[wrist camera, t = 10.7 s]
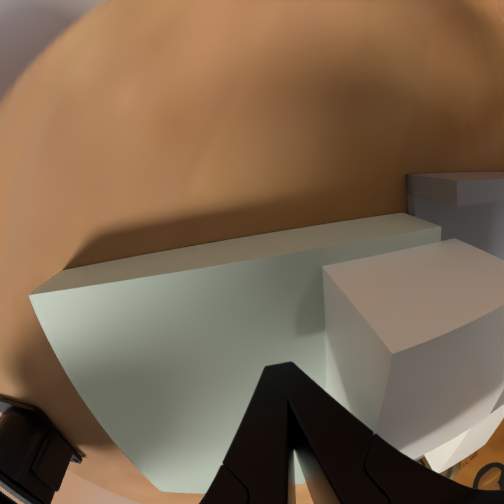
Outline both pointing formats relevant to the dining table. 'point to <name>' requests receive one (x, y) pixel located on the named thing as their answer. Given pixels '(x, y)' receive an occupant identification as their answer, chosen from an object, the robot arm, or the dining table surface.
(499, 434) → the coffee package
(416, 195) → the tray
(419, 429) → the light grey block
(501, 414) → the white square block
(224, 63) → the dining table surface
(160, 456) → the board
